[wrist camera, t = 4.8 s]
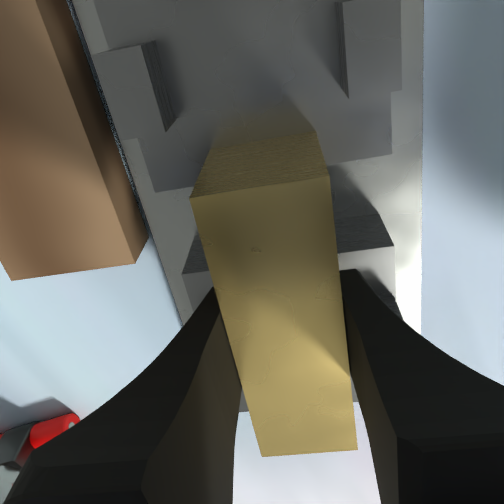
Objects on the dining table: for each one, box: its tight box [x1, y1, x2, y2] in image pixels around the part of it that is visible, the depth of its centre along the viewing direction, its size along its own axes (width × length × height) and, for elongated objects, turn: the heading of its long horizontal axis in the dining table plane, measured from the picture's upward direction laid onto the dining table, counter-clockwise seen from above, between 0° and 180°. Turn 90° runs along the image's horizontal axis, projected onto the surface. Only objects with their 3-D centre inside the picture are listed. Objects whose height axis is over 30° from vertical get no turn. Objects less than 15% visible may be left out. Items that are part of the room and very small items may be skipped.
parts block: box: [0, 0, 149, 281], centre depth 14 cm, size 5×11×2 cm, turn 11°
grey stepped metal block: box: [72, 0, 424, 412], centre depth 14 cm, size 10×17×5 cm, turn 11°
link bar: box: [189, 131, 358, 457], centre depth 13 cm, size 3×9×4 cm, turn 11°
